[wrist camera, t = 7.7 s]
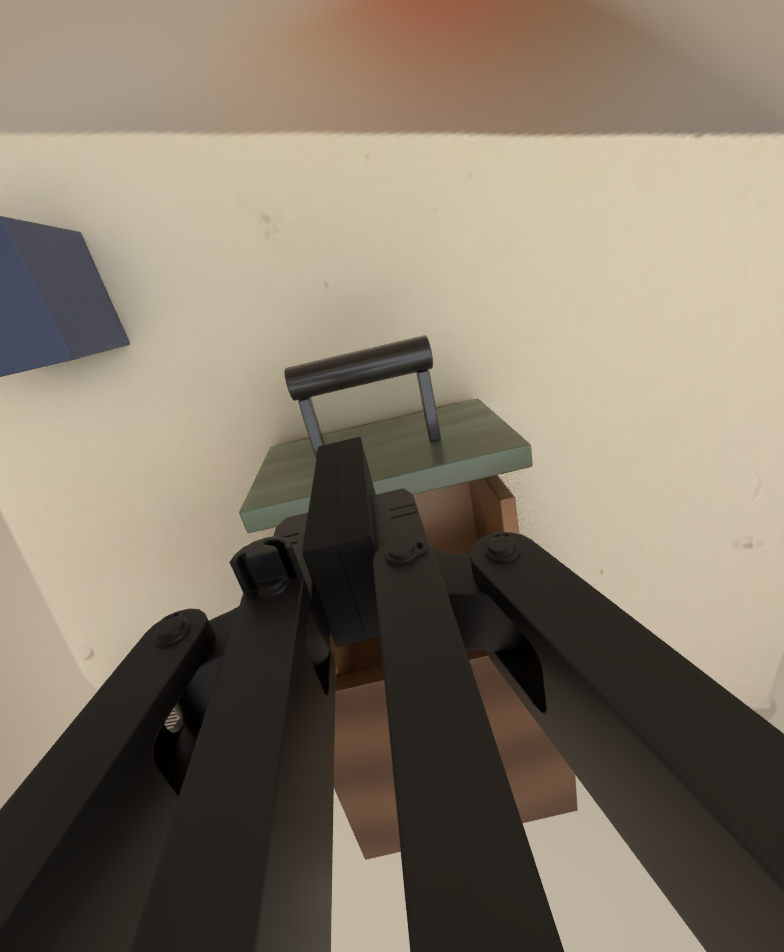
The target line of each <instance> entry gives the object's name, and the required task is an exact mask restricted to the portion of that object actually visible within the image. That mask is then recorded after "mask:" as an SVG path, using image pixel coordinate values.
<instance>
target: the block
mask: <svg viewBox="0 0 784 952" xmlns="http://www.w3.org/2000/svg"><path fill="white" fill-rule="evenodd" d="M129 344H130V343H129V340H128V338H127V336H126V334H125V331H124V329H123V327H122V325H121V322H120V320H119V318H118V316H117V313H116V311H115V309H114V307H113V304H112V302H111V300H110V298H109V296H108V293H107V291H106V289H105V287H104V284H103V282H102V280H101V278H100V275H99V273H98V271H97V269H96V266H95V264H94V262H93V260H92V257H91V255H90V253H89V251H88V248H87V246H86V244H85V242H84V239H83V237H82V235H81V233H80V232H77V231H72V230H67V229H62V228H57V227H52V226H47V225H42V224H37V223H32V222H27V221H22V220H17V219H12V218H7V217H2V216H0V377H2V376H6V375H10V374H15V373H19V372H23V371H27V370H32V369H36V368H40V367H44V366H49V365H53V364H57V363H61V362H66V361H70V360H74V359H78V358H81V357H85V356H89V355H92V354H96V353H100V352H104V351H107V350H111V349H115V348H118V347H122V346H126V345H129Z"/></svg>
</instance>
